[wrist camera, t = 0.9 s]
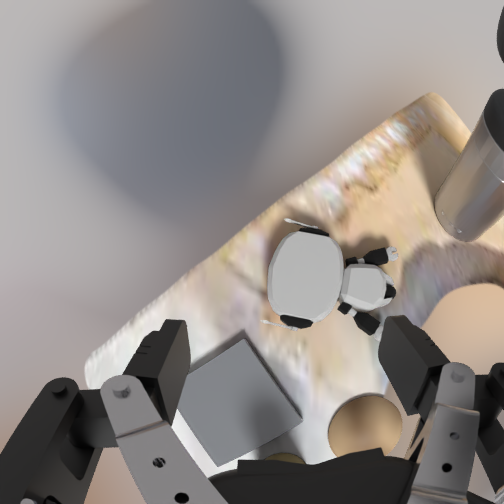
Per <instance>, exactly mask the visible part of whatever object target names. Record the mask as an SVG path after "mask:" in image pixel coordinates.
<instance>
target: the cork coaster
mask: <svg viewBox="0 0 504 504" xmlns="http://www.w3.org/2000/svg"><path fill="white" fill-rule="evenodd" d="M401 432H402V418H401V414H400V412H399V410H398V409H397V407H396V406H395V405H394V404H393V403H392V402H390V401H388V400H387V399H385V398H381V397H377V396H366V397H361V398H358V399H355V400H353V401H351V402H349V403H348V404H346V405H345V406H344V407H342V408H341V409H340V410H339V411H338V412H337V414H336V415H335V416H334V418H333V420H332V422H331V424H330V427H329V432H328V439H329V444H330V447H331V450H332V451H333V453H334V454H335V455H336V456H337V457H340V456H342V455H345V454H348V453H352V452H358V451H364V450H369V449H375V448H379V447H381V448H382V450H383V453H384V456H386V455H387V454H388V453H389V452H390V451H391V450H392V449H393V448H394V446H395V445H396V444H397V442H398V440H399V438H400V435H401Z"/></svg>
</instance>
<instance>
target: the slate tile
mask: <svg viewBox="0 0 504 504" xmlns="http://www.w3.org/2000/svg"><path fill="white" fill-rule="evenodd" d="M177 409H178V410H179V412H180V413H181V415H182V417H183V418H184V420H185V421H186V423H187V424H188V426H189V427H190V429H191V430H192V432H193V433H194V435H195V436H196V438H197V439H198V441H199V442H200V444H201V445H202V446H203V448H204V449H205V451H206V452H207V453H208V455H209V456H210V458H211V459H212V460H213V462H214V463H215V464H216V466H217V467H219V466H221V465H223V464H226V463H228V462H230V461H232V460H234V459H236V458H238V457H240V456H242V455H244V454H246V453H248V452H250V451H252V450H254V449H256V448H258V447H260V446H262V445H264V444H265V443H267V442H269V441H271V440H273V439H275V438H276V437H278V436H280V435H282V434H283V433H285V432H287V431H288V430H290V429H292V428H293V427H295V426H297V425H298V424H300V423H301V422H303V419H302V417H301V416H300V415H299V413H298V412H297V411H296V409H295V408H294V407H293V405H292V404H291V403H290V401H289V400H288V398H287V397H286V396H285V394H284V393H283V392H282V390H281V389H280V387H279V386H278V385H277V383H276V382H275V380H274V379H273V378H272V376H271V375H270V373H269V372H268V370H267V369H266V368H265V366H264V365H263V363H262V362H261V360H260V359H259V358H258V356H257V355H256V353H255V352H254V350H253V349H252V347H251V346H250V344H249V343H248V341H247V340H246V339H242V340H241V341H239V342H238V343H236V344H235V345H233V346H232V347H230V348H229V349H227V350H226V351H224V352H223V353H221V354H220V355H218V356H217V357H215V358H214V359H212V360H211V361H209V362H207V363H206V364H204V365H203V366H201V367H200V368H198V369H196V370H195V371H193V372H192V373H190V374H188V375H187V377H186V380H185V384H184V387H183V390H182V393H181V397H180V400H179V403H178V406H177Z"/></svg>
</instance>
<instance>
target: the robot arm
mask: <svg viewBox="0 0 504 504" xmlns="http://www.w3.org/2000/svg"><path fill="white" fill-rule="evenodd" d="M497 46H498V51H499V55H500V57H501V59H502V61H503V63H504V7H503V10H502V13H501V16H500V20H499V24H498V30H497ZM435 211H436V215H437V218H438V220H439V221H440V223H441V225H442V226H443V228H444V229H445V230H446V231H447V232H448V233H449V234H450V235H451V236H453V237H454V238H456V239H458V240H461V241H465V242H470V241H474V240H476V239H478V238H479V237H480V236H481V235H483V234H484V233H485V232H486V231H487V230H488V229H489V228H491V227H492V226H493V225H494V224H495V223H496V222H497V221H499V220H500V219H501V218H502V217H503V216H504V89H499V90H496V91H495V92H493V93H492V95H491V96H490V98H489V100H488V102H487V104H486V106H485V109H484V110H483V112H482V115H481V117H480V119H479V121H478V122H477V124H476V126H475V129H474V131H473V132H472V134H471V136H470V138H469V140H468V142H467V144H466V145H465V147H464V149H463V151H462V152H461V154H460V156H459V158H458V159H457V161H456V163H455V165H454V166H453V168H452V170H451V171H450V173H449V175H448V176H447V178H446V179H445V181H444V183H443V184H442V186H441V187H440V189H439V191H438V192H437V194H436V197H435ZM378 357H379V361H380V364H381V365H382V367H383V369H384V371H385V373H386V375H387V377H388V378H389V380H390V382H391V384H392V386H393V388H394V390H395V392H396V394H397V396H398V397H399V399H400V401H401V403H402V405H403V407H404V409H405V411H406V413H407V415H408V416H409V415H413V414H418V413H419V414H420V418H419V420H418V423H417V425H416V429H415V431H414V434H413V437H412V439H411V442H410V445H409V447H408V450H407V452H406V455H405V457H404V459H403V458H398V457H392V456H384V453H383V450H382V448H381V447H379V448H375V449H369V450H364V451H358V452H352V453H348V454H345V455H342V456H340V457H337V458H334V459H331V460H328V461H325V462H322V463H319V464H315V465H309V464H301V463H293V462H286V461H280V460H238V466H237V469H234V470H229V471H225V472H221V473H219V474H216V475H213V476H211V477H209V478H207V477H206V476H205V475H204V473H203V472H202V471H201V469H200V468H199V467H198V465H197V464H196V463H195V461H194V460H193V459H192V457H191V456H190V454H189V453H188V452H187V450H186V449H185V447H184V446H183V444H182V443H181V441H180V440H179V438H178V437H177V436H176V434H175V432H174V431H173V429H172V428H171V426H172V423H173V420H174V416H175V413H176V410H177V406H178V403H179V400H180V397H181V393H182V390H183V387H184V384H185V380H186V377H187V374H188V371H189V367H190V361H191V354H190V346H189V339H188V332H187V325H186V322H185V320H171V319H166V320H165V322H164V323H163V325H162V327H161V329H160V331H152V332H151V333H149V334H148V335H147V336H145V337H144V339H143V340H142V342H141V344H140V347H138V349H137V350H136V354H134V355H133V357H132V359H131V360H130V362H129V364H128V366H127V367H126V369H125V371H124V372H123V374H122V375H118V376H114V377H112V378H110V379H108V380H107V381H105V382H104V384H103V385H102V387H101V389H93V390H79V387H78V385H77V383H76V382H75V381H74V380H72V379H70V378H57V379H54V380H52V381H50V382H48V383H47V384H46V385H45V386H44V388H43V389H42V391H41V392H40V394H39V395H38V396H37V398H36V399H35V401H34V402H33V404H32V405H31V407H30V408H29V409H28V411H27V413H26V414H25V416H24V417H23V419H22V420H21V422H20V423H19V425H18V426H17V428H16V429H15V431H14V433H13V434H12V436H11V437H10V439H9V441H8V442H7V444H6V446H5V448H4V449H3V451H2V452H1V454H0V504H84V501H85V498H86V495H87V492H88V489H89V486H90V483H91V480H92V478H93V475H94V472H95V469H96V466H97V464H98V461H99V458H100V456H101V453H102V450H103V448H105V447H106V448H109V447H119V449H120V451H121V453H122V455H123V458H124V460H125V462H126V464H127V466H128V468H129V471H130V473H131V475H132V477H133V479H134V481H135V483H136V485H137V487H138V489H139V490H140V492H141V494H142V496H143V498H144V500H145V502H146V503H147V504H504V429H503V428H502V426H501V425H500V423H499V421H498V420H497V417H498V415H499V414H500V412H501V410H502V409H503V410H504V363H496V364H494V365H493V366H492V368H491V370H490V372H489V374H488V375H475V373H474V372H473V370H472V369H470V367H468V366H467V365H465V364H462V363H457V362H452V363H451V362H450V361H449V360H448V359H447V357H446V356H445V355H444V354H443V353H442V351H441V350H440V349H439V348H438V346H437V345H435V343H434V342H433V341H432V340H431V338H430V337H429V336H428V335H427V334H426V332H425V331H423V330H422V329H420V328H419V327H417V326H414V325H413V324H412V323H411V322H410V321H409V319H408V318H407V317H406V316H405V315H399V316H389V317H387V318H386V320H385V323H384V327H383V332H382V336H381V340H380V344H379V349H378ZM475 451H476V453H477V455H478V457H479V459H480V461H481V463H482V465H483V467H484V469H485V471H486V473H487V476H488V478H489V480H490V483H491V485H492V487H493V489H494V492H495V494H496V496H495V503H493V502H491V501H489V500H487V499H484V498H482V497H480V496H478V495H476V494H474V493H471V492H469V491H467V489H468V486H469V481H470V477H471V472H472V467H473V462H474V456H475Z"/></svg>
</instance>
